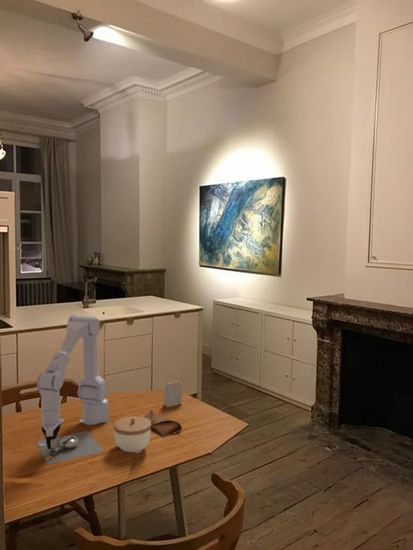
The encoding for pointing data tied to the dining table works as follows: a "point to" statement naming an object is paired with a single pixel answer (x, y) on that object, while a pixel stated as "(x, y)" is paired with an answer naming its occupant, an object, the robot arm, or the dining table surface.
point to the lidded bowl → (132, 433)
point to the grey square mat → (83, 449)
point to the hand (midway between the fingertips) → (51, 447)
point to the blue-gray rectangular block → (172, 394)
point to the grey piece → (63, 444)
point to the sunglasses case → (162, 424)
